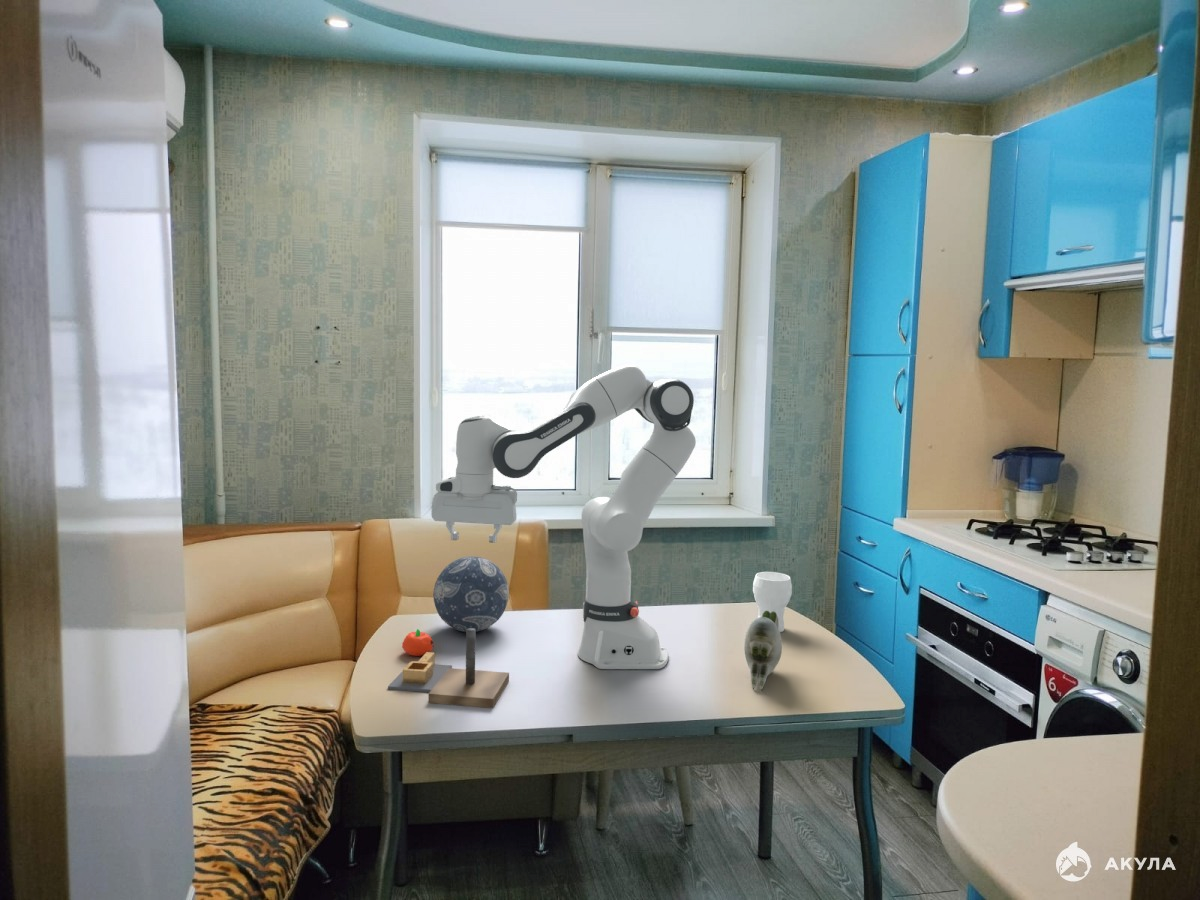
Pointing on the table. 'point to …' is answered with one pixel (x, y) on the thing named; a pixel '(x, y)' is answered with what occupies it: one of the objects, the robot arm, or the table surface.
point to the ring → (419, 670)
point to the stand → (469, 682)
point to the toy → (763, 647)
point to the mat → (437, 675)
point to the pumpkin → (417, 643)
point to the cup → (772, 594)
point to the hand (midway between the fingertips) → (473, 541)
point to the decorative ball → (471, 594)
